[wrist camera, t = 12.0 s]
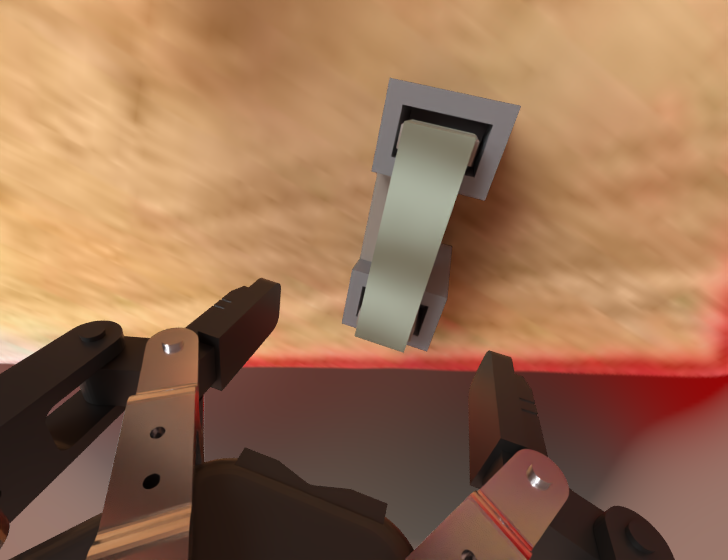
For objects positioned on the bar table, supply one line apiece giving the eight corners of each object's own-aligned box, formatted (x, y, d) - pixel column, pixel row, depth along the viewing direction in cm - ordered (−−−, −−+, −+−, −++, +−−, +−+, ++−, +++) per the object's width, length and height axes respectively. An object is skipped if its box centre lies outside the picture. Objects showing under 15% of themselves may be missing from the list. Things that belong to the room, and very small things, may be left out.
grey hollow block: (414, 87, 26) (389, 77, 18) (502, 106, 25) (521, 105, 17) (372, 270, 35) (341, 323, 26) (436, 290, 34) (427, 351, 25)
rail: (415, 117, 21) (399, 119, 16) (477, 131, 20) (481, 139, 15) (372, 293, 28) (351, 334, 23) (418, 307, 27) (407, 353, 22)
